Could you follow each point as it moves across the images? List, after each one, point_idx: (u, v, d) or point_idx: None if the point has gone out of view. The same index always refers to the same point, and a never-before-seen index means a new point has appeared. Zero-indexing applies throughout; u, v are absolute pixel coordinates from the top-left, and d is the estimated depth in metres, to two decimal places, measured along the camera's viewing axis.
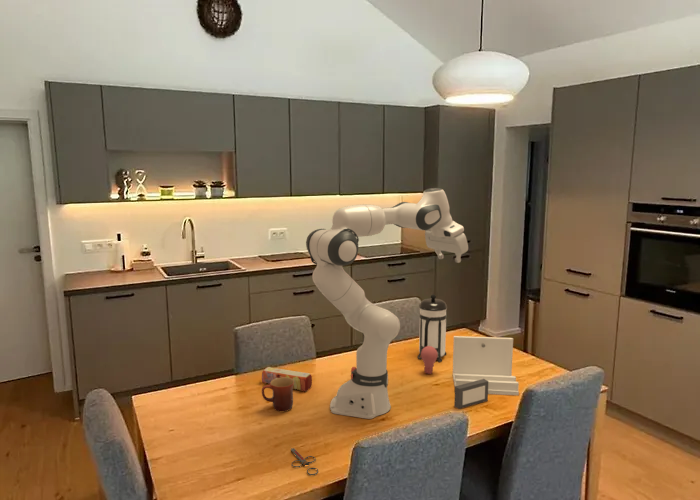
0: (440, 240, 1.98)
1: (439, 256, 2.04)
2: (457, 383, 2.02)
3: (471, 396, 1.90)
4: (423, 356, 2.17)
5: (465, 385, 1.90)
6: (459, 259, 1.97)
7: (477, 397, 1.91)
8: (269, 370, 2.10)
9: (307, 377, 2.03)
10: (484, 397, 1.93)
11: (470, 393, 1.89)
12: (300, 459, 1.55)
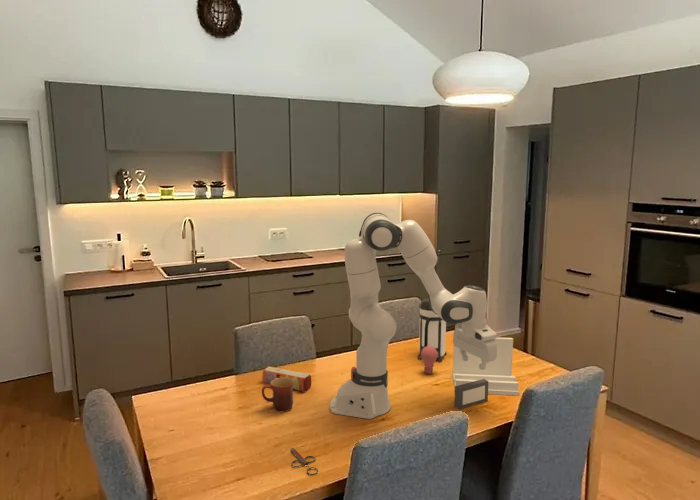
0: (469, 341, 1.88)
1: (463, 358, 1.93)
2: (457, 383, 2.02)
3: (471, 396, 1.90)
4: (423, 356, 2.17)
5: (465, 385, 1.90)
6: (484, 366, 1.85)
7: (477, 397, 1.91)
8: (269, 370, 2.10)
9: (306, 378, 2.02)
10: (484, 397, 1.93)
11: (470, 393, 1.89)
12: (300, 459, 1.55)
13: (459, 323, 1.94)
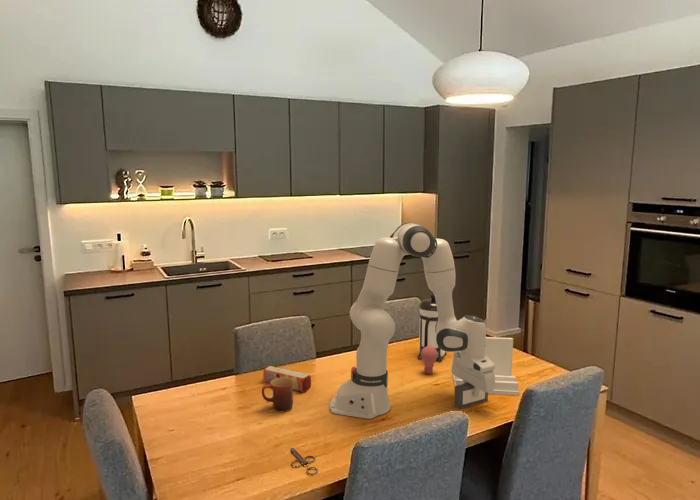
0: (467, 371, 1.90)
1: None
2: (457, 383, 2.02)
3: (471, 395, 1.90)
4: (423, 356, 2.17)
5: (465, 385, 1.90)
6: (477, 394, 1.89)
7: (477, 397, 1.91)
8: (270, 369, 2.11)
9: (305, 378, 2.02)
10: (484, 397, 1.93)
11: (470, 393, 1.89)
12: (300, 459, 1.55)
13: (458, 352, 1.96)
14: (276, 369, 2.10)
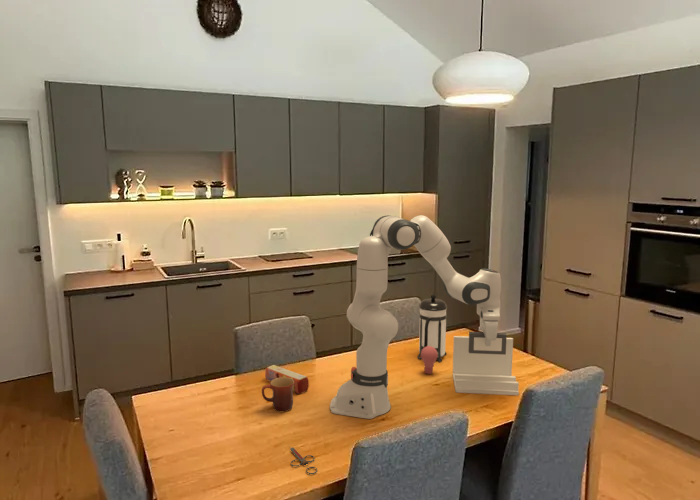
0: (483, 320, 2.01)
1: None
2: (457, 383, 2.02)
3: (483, 344, 2.00)
4: (423, 356, 2.17)
5: (479, 333, 2.01)
6: (488, 343, 1.98)
7: (492, 347, 2.00)
8: (271, 368, 2.12)
9: (301, 380, 2.01)
10: (501, 349, 2.00)
11: (483, 341, 2.00)
12: (299, 458, 1.56)
13: None
14: (277, 368, 2.11)
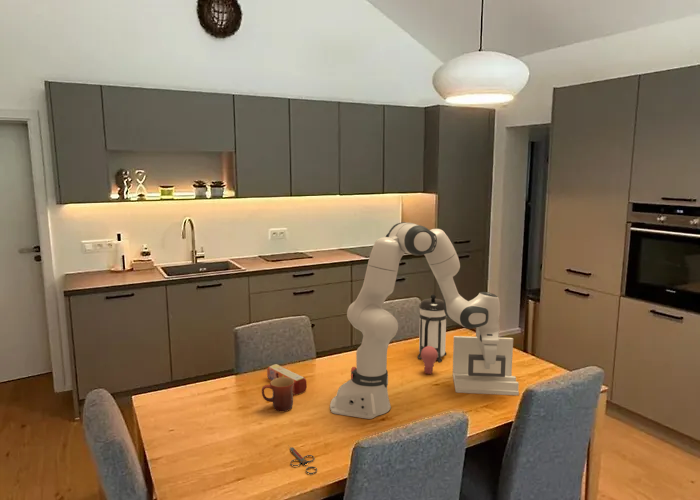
0: None
1: None
2: (457, 383, 2.02)
3: (483, 366, 2.02)
4: (423, 356, 2.17)
5: (479, 355, 2.03)
6: (487, 366, 2.00)
7: (491, 370, 2.02)
8: (273, 367, 2.13)
9: (298, 381, 2.00)
10: (500, 372, 2.01)
11: (482, 363, 2.02)
12: (299, 458, 1.56)
13: None
14: (278, 368, 2.12)
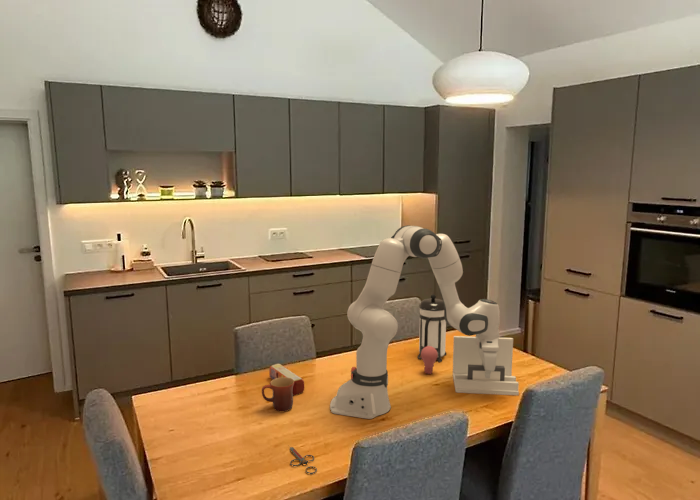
0: None
1: None
2: (457, 383, 2.02)
3: (482, 377, 2.02)
4: (423, 356, 2.17)
5: (478, 366, 2.03)
6: (488, 375, 1.98)
7: None
8: (274, 367, 2.13)
9: (295, 381, 1.99)
10: None
11: (482, 374, 2.02)
12: (299, 458, 1.56)
13: None
14: (279, 368, 2.12)
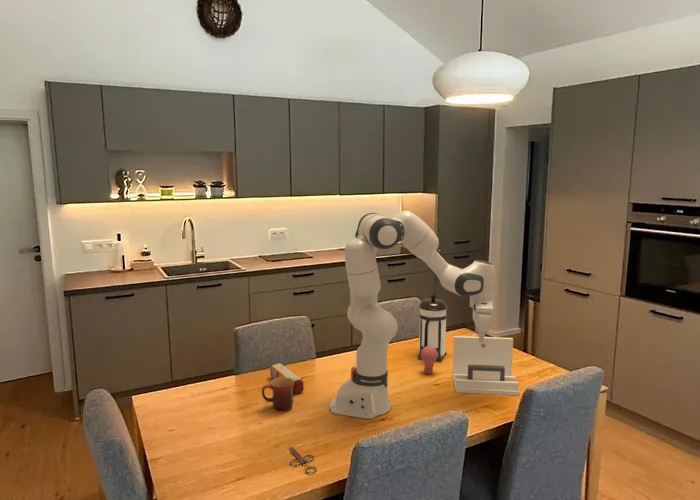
0: (476, 313, 1.97)
1: (475, 330, 2.01)
2: (457, 383, 2.02)
3: (482, 377, 2.02)
4: (423, 356, 2.17)
5: (478, 366, 2.03)
6: (482, 339, 1.91)
7: None
8: (275, 366, 2.14)
9: (294, 381, 1.99)
10: None
11: (482, 374, 2.02)
12: (298, 458, 1.56)
13: None
14: (280, 367, 2.12)
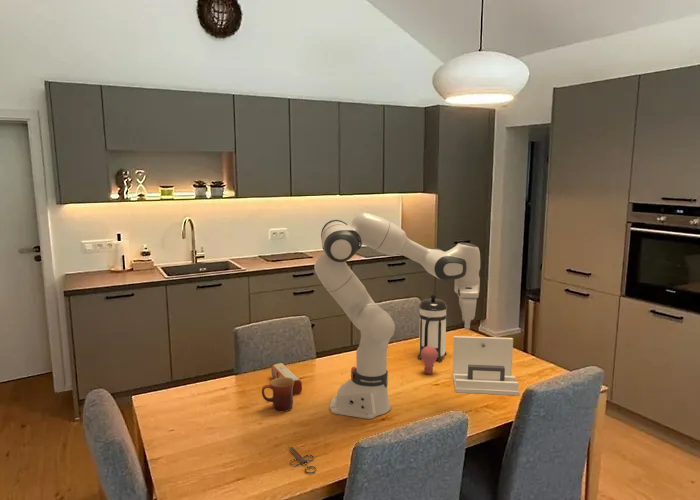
0: None
1: (462, 317, 1.91)
2: (457, 383, 2.02)
3: (482, 377, 2.02)
4: (423, 356, 2.17)
5: (478, 366, 2.03)
6: (467, 326, 1.81)
7: None
8: (276, 366, 2.14)
9: None
10: None
11: (482, 374, 2.02)
12: (298, 457, 1.56)
13: None
14: (280, 367, 2.12)
